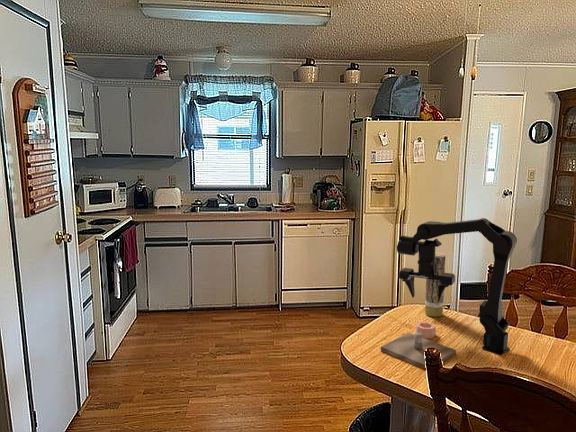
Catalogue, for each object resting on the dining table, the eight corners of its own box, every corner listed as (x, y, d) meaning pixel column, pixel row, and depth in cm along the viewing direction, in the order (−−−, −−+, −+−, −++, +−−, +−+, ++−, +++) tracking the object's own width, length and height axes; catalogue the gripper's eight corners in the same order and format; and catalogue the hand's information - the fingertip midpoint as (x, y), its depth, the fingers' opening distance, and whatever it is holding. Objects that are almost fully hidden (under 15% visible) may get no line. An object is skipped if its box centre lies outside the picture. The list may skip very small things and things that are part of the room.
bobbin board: (455, 354, 145) (456, 335, 144) (429, 371, 134) (429, 351, 133) (408, 336, 158) (409, 319, 157) (380, 350, 148) (381, 332, 147)
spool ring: (438, 334, 160) (438, 325, 159) (428, 340, 155) (428, 330, 155) (422, 329, 164) (422, 320, 164) (412, 334, 160) (412, 325, 160)
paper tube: (443, 318, 174) (446, 256, 170) (425, 317, 175) (428, 255, 171) (441, 311, 181) (444, 252, 177) (424, 310, 182) (426, 251, 178)
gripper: (459, 254, 160) (457, 296, 162) (407, 249, 170) (407, 289, 172) (452, 262, 151) (450, 306, 153) (398, 256, 161) (398, 297, 163)
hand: (426, 299), depth 161 cm, fingers open, 9 cm apart
